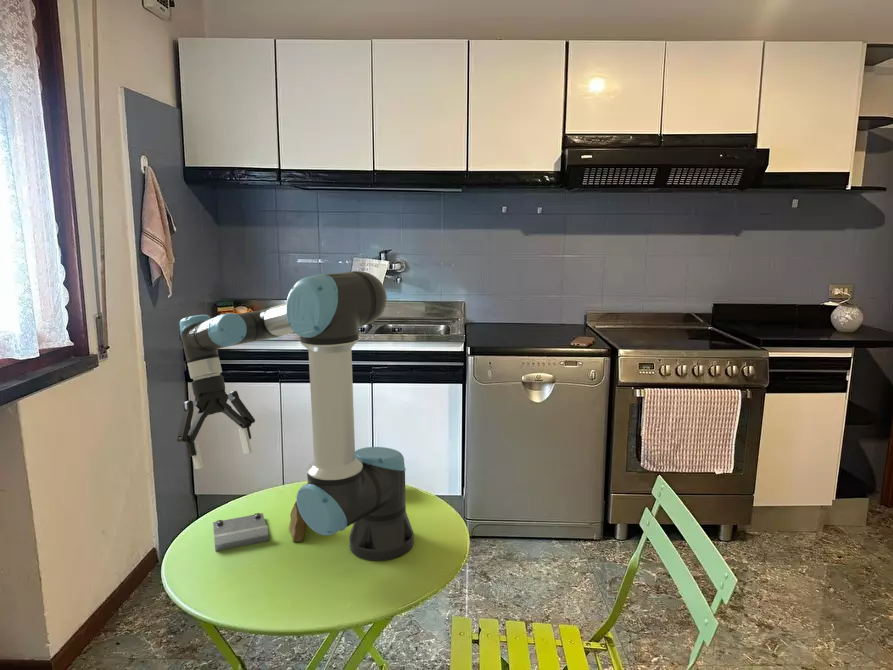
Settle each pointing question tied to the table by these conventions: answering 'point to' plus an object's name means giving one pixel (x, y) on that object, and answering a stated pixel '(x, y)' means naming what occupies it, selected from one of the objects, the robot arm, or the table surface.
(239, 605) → the table surface
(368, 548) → the robot arm
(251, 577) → the table surface
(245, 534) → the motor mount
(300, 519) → the rock
